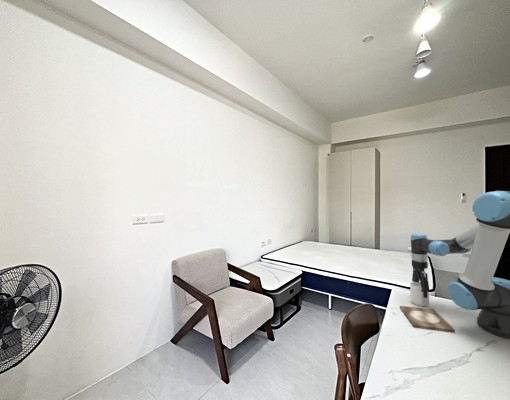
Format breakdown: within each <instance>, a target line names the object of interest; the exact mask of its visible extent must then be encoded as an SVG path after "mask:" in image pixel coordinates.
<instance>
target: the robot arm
mask: <svg viewBox="0 0 510 400" xmlns="http://www.w3.org/2000/svg"><path fill="white" fill-rule="evenodd" d="M471 208H472V212H473V215H474V216H475V217H476V219H475V221H476V222H477V224H476V225H474V226H473V227H470V228H469V229H467V230H465V231H464V232H462V233H461V234H459V235H457V236H455V237H454V238H451V239H429V238H428V237H427V234H424V233H411V235H410V251H411V252H410V253H411V254H410V256H411V266H412V275H411V276H412V279H411V281H412V282H419V283H421V287H422V290H421V295H422V303H428V292H429V293H430V292H431V291H430V286H429V285H430V284H429V279H428V272H426V271H425V270H426V269H428V268H429V267H428V265H429V263H428V261H429V259H428V258H429V257H428V254H431V255H435V256H439V257H444V256H447V255H450V254H451V255H452V254H459V255H460V254H468V253H470V254H469V257H468V260H467V263H466V266H465V270H464V272H460V273H459V274H458V276H457V279H456V281H451V282H449V284H447V293H448V295H449V297H450V299H451V301H452V302H453V303H454V304H455V305H457V306H458V307H459V308H461V309H463V310H467V311H469V310H470V311H476V310H477V311H478V310H479V313H478V316H477V318H476V325H477V326H478V327H479V328H480V329H482V330H484V331H486V332H488V333H490V334H493V335H495V336H499V337H501V338H506V339H510V280H508V279H505V278H501V277H495V276H494V275H495V273H496V270H497V267H498V265H499V261H500V259H501V257H502V254H503V251H504V248H505V245H506V243H507V240H508V237H509V235H510V190H495V191H488V192H484V193H482V194H480V195H479V196H477V197H476V198H475V199H474V201H473V202H472V207H471Z"/></svg>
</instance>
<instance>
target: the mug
mask: <svg viewBox="0 0 510 400" xmlns="http://www.w3.org/2000/svg"><path fill="white" fill-rule="evenodd" d="M419 282H420V281H419ZM419 282H413V281H412V282H410V284H409V287H410V291H409V292H410V302H411V303H412V304H413V305H416V306H419V307H428V306H430V292H428V303H422V295H421V290H422V287H421V283H419Z"/></svg>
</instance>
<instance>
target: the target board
mask: <svg viewBox="0 0 510 400" xmlns="http://www.w3.org/2000/svg"><path fill="white" fill-rule="evenodd" d="M399 309H400V310H401V312H402V313H403V314H404V316H405V317H406V319H407V320H408V322H409V323H410V325H411V326H412V327H413V329H415V328H416V329H424V330H430V331H438V332H439V331H440V332H447V333H454V334H455V333H456V330H455V329H454V327H453V326H452V325H451V324H449V322H448V321H447V320H446V319H444V318H443V316H441V314H440V313H439V312H437V311H436V310H435V309H433V308H426V307H418V306H417V307H415V306H413V307H412V306H405V305H399Z"/></svg>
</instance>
